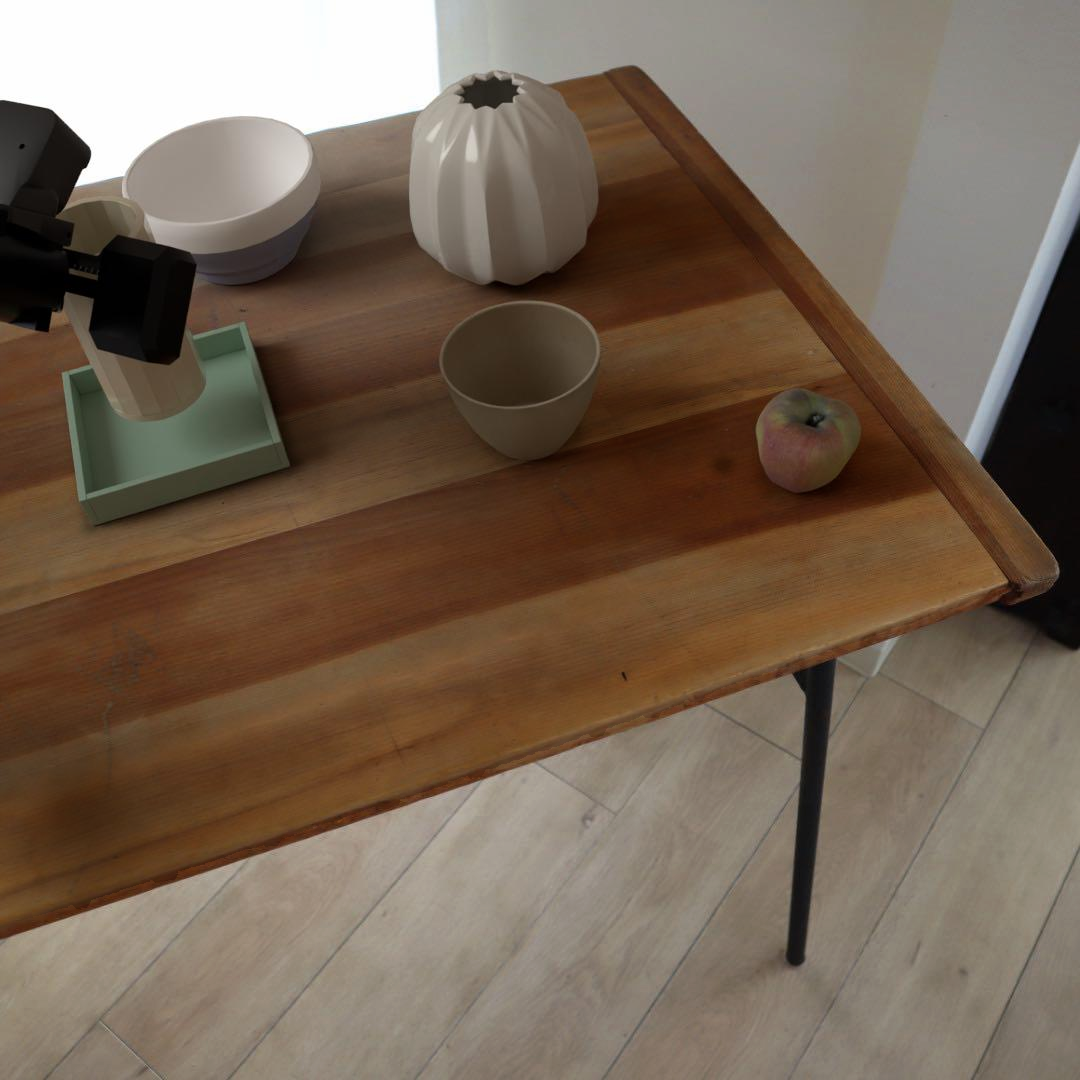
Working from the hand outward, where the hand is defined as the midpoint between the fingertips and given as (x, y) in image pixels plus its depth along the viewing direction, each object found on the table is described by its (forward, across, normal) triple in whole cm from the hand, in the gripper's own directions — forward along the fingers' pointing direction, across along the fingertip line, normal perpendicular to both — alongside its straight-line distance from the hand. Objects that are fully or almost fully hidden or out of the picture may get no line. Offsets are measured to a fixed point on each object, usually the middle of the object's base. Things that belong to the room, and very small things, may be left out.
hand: (136, 295), depth 73 cm
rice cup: (+4, 0, +6) cm, 7 cm away
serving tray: (+7, 0, +8) cm, 11 cm away
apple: (+14, -40, +2) cm, 42 cm away
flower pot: (+12, -23, +3) cm, 26 cm away
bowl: (+20, +6, -5) cm, 21 cm away
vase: (+24, -14, -9) cm, 29 cm away
